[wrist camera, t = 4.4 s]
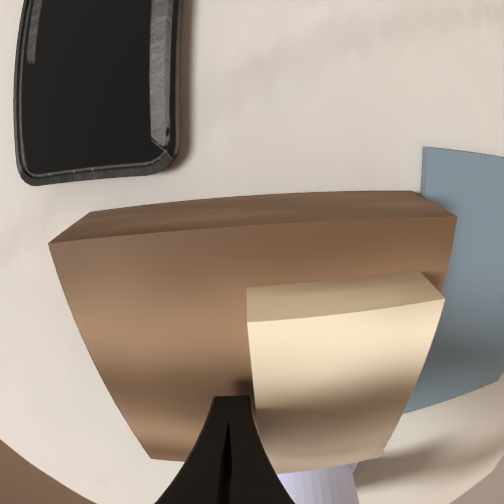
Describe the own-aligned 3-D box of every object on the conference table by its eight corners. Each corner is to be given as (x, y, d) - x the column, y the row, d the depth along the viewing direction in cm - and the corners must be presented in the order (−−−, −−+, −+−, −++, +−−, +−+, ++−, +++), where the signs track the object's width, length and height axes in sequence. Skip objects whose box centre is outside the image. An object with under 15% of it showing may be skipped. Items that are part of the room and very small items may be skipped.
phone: (194, -119, 5) (176, 174, 11) (197, -107, 6) (182, 169, 12) (45, -75, 4) (17, 188, 11) (55, -68, 5) (31, 183, 12)
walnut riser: (368, 402, 18) (382, 443, 14) (159, 416, 18) (150, 458, 14) (411, 191, 12) (457, 216, 9) (90, 212, 12) (47, 243, 9)
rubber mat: (495, 377, 18) (497, 380, 18) (369, 417, 18) (370, 421, 18) (561, 170, 11) (565, 171, 11) (422, 146, 11) (427, 147, 11)
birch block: (371, 431, 14) (379, 457, 12) (261, 446, 14) (263, 475, 12) (419, 271, 9) (445, 298, 8) (246, 287, 10) (246, 322, 8)
